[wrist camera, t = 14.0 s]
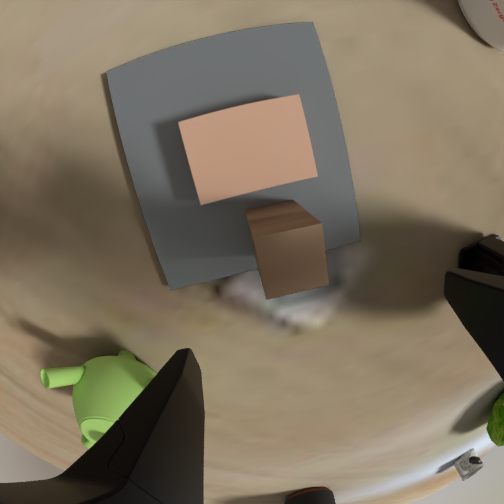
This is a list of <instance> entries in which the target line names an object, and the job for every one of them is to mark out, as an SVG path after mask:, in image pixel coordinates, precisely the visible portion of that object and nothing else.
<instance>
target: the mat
mask: <svg viewBox="0 0 504 504" xmlns="http://www.w3.org/2000/svg"><path fill="white" fill-rule="evenodd" d="M106 74H107V79H108V84H109V89H110V94H111V99H112V103H113V108H114V112H115V116H116V121H117V125H118V129H119V133H120V137H121V141H122V144H123V148H124V152H125V156H126V159H127V163H128V166H129V170H130V173H131V177H132V180H133V184H134V187H135V190H136V194H137V197H138V200H139V203H140V206H141V209H142V212H143V216H144V219H145V222H146V225H147V228H148V230H149V233H150V236H151V239H152V242H153V245H154V248H155V250H156V253H157V256H158V259H159V261H160V264H161V267H162V269H163V272H164V275H165V277H166V280H167V282H168V285H169V288H170V290H175V289H179V288H183V287H187V286H191V285H195V284H199V283H203V282H207V281H211V280H215V279H219V278H223V277H227V276H231V275H235V274H239V273H243V272H246V271H250V270H254V269H258V266H257V262H256V258H255V254H254V249H253V245H252V240H251V236H250V231H249V226H248V222H247V217H246V213H245V210H248V209H252V208H257V207H262V206H266V205H271V204H276V203H281V202H285V201H290V200H294V201H295V202H297V203H298V204H299V205H300V206H302V207H303V208H304V209H305V210H307V211H308V212H309V213H310V214H311V215H313V216H314V217H315V218H316V219H317V220H319V221H320V222H321V223H322V228H323V235H324V243H325V251H326V250H330V249H334V248H337V247H341V246H345V245H348V244H352V243H356V242H359V241H361V240H360V231H359V223H358V215H357V208H356V201H355V194H354V187H353V181H352V175H351V169H350V164H349V158H348V153H347V148H346V143H345V138H344V133H343V128H342V124H341V119H340V115H339V111H338V106H337V102H336V98H335V94H334V90H333V87H332V83H331V79H330V75H329V72H328V68H327V65H326V61H325V58H324V55H323V51H322V48H321V45H320V42H319V39H318V36H317V33H316V30H315V27H314V24H313V22H301V23H289V24H280V25H271V26H264V27H257V28H250V29H245V30H239V31H234V32H229V33H224V34H219V35H215V36H210V37H206V38H202V39H198V40H194V41H191V42H187V43H184V44H180V45H177V46H173V47H170V48H167V49H164V50H161V51H158V52H155V53H152V54H149V55H146V56H144V57H141V58H138V59H136V60H133V61H131V62H128V63H126V64H123V65H121V66H118V67H116V68H114V69H111V70H109V71H107V72H106ZM298 94H299V95H300V99H301V103H302V107H303V111H304V115H305V119H306V124H307V128H308V132H309V137H310V141H311V146H312V150H313V155H314V159H315V164H316V169H317V174H318V177H313V178H308V179H304V180H299V181H295V182H291V183H286V184H282V185H278V186H274V187H269V188H265V189H261V190H257V191H253V192H249V193H245V194H241V195H237V196H234V197H230V198H226V199H222V200H219V201H215V202H211V203H208V204H204V205H201V204H200V201H199V197H198V194H197V190H196V187H195V183H194V180H193V176H192V172H191V169H190V165H189V161H188V158H187V154H186V150H185V147H184V143H183V139H182V135H181V132H180V128H179V124H178V122H181V121H184V120H187V119H191V118H194V117H197V116H201V115H205V114H208V113H212V112H216V111H220V110H224V109H228V108H232V107H236V106H240V105H245V104H249V103H254V102H259V101H264V100H269V99H274V98H280V97H286V96H292V95H298Z"/></svg>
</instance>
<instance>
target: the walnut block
mask: <svg viewBox="0 0 504 504" xmlns="http://www.w3.org/2000/svg"><path fill="white" fill-rule="evenodd" d="M245 213H246V217H247V222H248V226H249V231H250V236H251V240H252V245H253V249H254V254H255V258H256V262H257V266H258V269H259V273H260V277H261V281H262V285H263V288H264V292H265V296H266V300H267V299H271V298H276V297H280V296H284V295H289V294H293V293H297V292H301V291H305V290H309V289H313V288H317V287H321V286H325V285H329V279H328V270H327V260H326V252H325V243H324V235H323V228H322V223H321V222H320V221H319V220H317V219H316V218H315V217H314V216H313V215H311V214H310V213H309V212H308V211H307V210H305V209H304V208H303V207H302V206H300V205H299V204H298V203H297V202H295V201H294V200H290V201H285V202H281V203H276V204H271V205H266V206H262V207H257V208H252V209H248V210H245Z"/></svg>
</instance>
